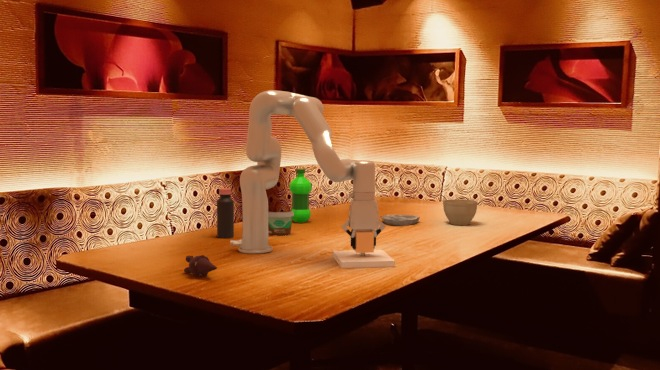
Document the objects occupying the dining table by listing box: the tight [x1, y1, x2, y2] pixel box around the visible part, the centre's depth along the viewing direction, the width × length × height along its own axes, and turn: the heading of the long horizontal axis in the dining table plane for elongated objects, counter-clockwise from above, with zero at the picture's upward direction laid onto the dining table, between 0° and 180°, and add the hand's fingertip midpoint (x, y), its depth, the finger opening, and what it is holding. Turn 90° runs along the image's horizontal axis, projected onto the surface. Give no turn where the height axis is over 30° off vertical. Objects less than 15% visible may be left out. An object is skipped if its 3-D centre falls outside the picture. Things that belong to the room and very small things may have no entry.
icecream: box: [183, 254, 218, 278], centre depth 199 cm, size 7×7×15 cm
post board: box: [332, 249, 396, 269], centre depth 222 cm, size 18×18×6 cm
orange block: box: [352, 230, 375, 253], centre depth 221 cm, size 6×6×7 cm
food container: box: [268, 210, 294, 237], centre depth 269 cm, size 12×6×10 cm, turn 105°
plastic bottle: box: [289, 168, 313, 224], centre depth 301 cm, size 10×10×25 cm
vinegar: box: [216, 187, 235, 239], centre depth 262 cm, size 7×7×20 cm
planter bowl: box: [442, 198, 479, 226], centre depth 301 cm, size 16×16×11 cm
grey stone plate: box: [379, 214, 421, 227], centre depth 303 cm, size 20×17×3 cm
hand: (363, 247), depth 221 cm, fingers closed on orange block, 5 cm apart
